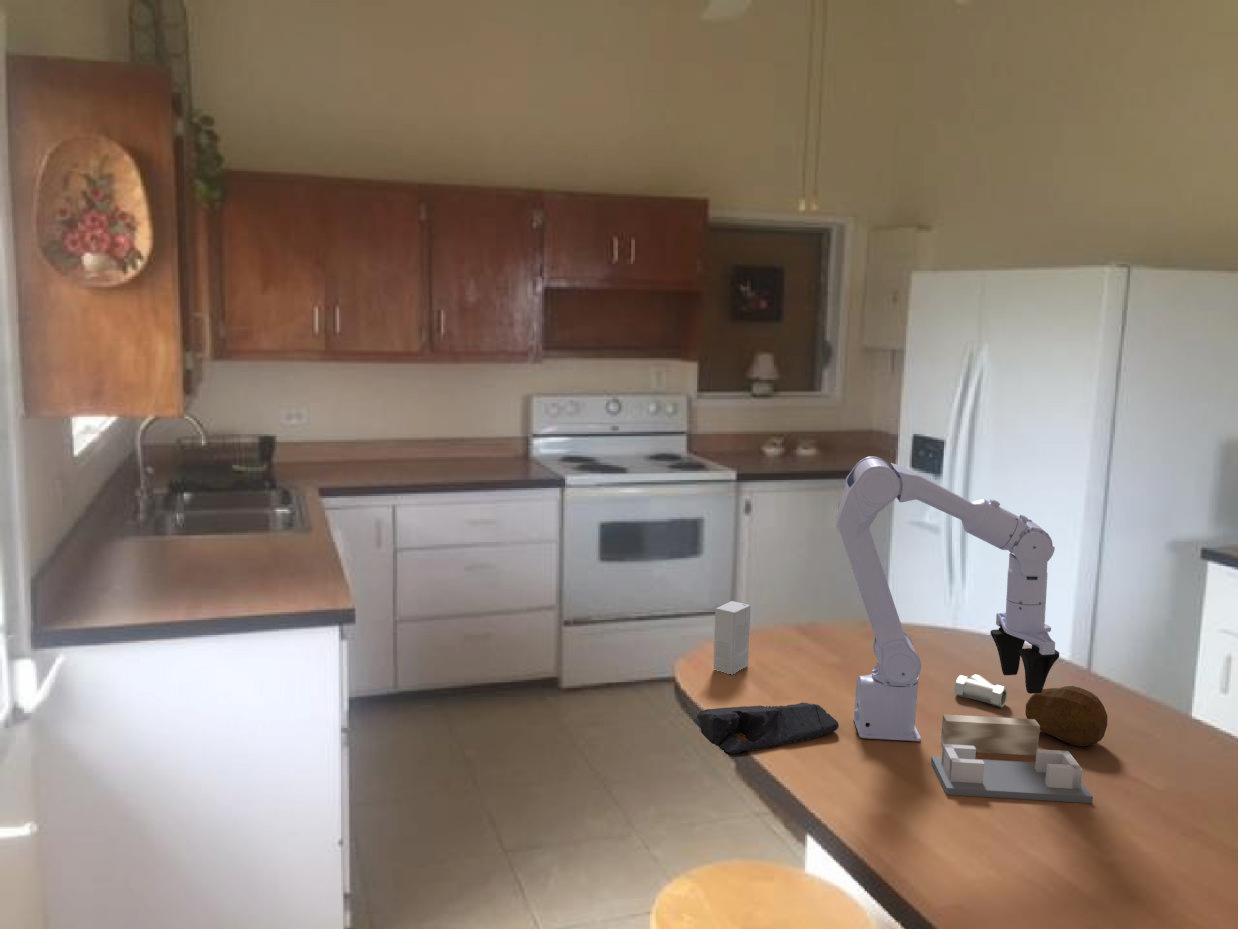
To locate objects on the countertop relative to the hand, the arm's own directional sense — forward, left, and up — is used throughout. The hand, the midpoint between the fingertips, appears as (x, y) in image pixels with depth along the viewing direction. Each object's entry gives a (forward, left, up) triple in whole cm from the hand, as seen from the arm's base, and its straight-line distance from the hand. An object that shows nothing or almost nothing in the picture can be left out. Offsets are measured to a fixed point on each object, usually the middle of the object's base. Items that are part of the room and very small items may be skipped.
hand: (1021, 683), depth 166 cm
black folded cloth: (-39, -1, -10) cm, 41 cm away
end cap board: (-5, -15, -9) cm, 19 cm away
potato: (+9, +2, -10) cm, 13 cm away
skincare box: (-44, +25, -10) cm, 52 cm away
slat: (-5, -4, -10) cm, 12 cm away
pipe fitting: (-1, +17, -10) cm, 20 cm away
